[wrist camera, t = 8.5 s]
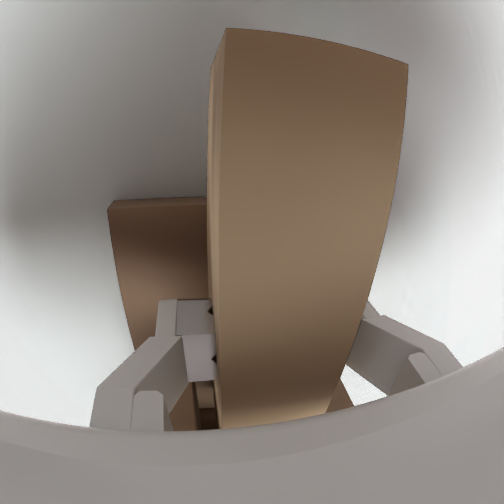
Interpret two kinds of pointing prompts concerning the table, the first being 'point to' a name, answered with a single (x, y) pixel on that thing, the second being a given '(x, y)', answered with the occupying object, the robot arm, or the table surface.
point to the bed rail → (294, 214)
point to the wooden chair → (170, 283)
